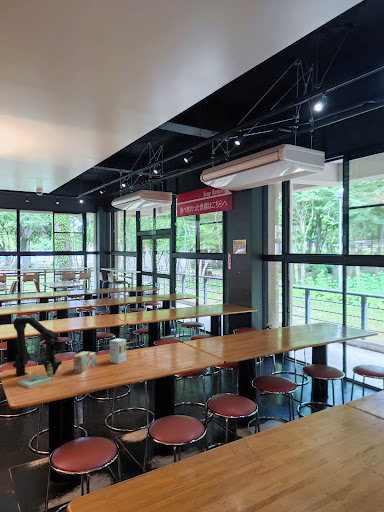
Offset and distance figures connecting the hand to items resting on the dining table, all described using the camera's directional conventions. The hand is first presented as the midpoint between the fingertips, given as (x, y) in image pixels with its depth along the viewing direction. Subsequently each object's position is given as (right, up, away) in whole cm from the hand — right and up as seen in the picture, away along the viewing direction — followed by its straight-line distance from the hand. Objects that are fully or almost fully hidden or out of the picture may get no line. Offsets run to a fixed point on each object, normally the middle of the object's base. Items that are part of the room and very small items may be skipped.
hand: (50, 373), depth 238 cm
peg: (0, -2, 0) cm, 2 cm away
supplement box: (+39, -2, +33) cm, 51 cm away
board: (-6, -2, -11) cm, 12 cm away
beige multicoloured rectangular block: (+19, -2, +16) cm, 25 cm away
